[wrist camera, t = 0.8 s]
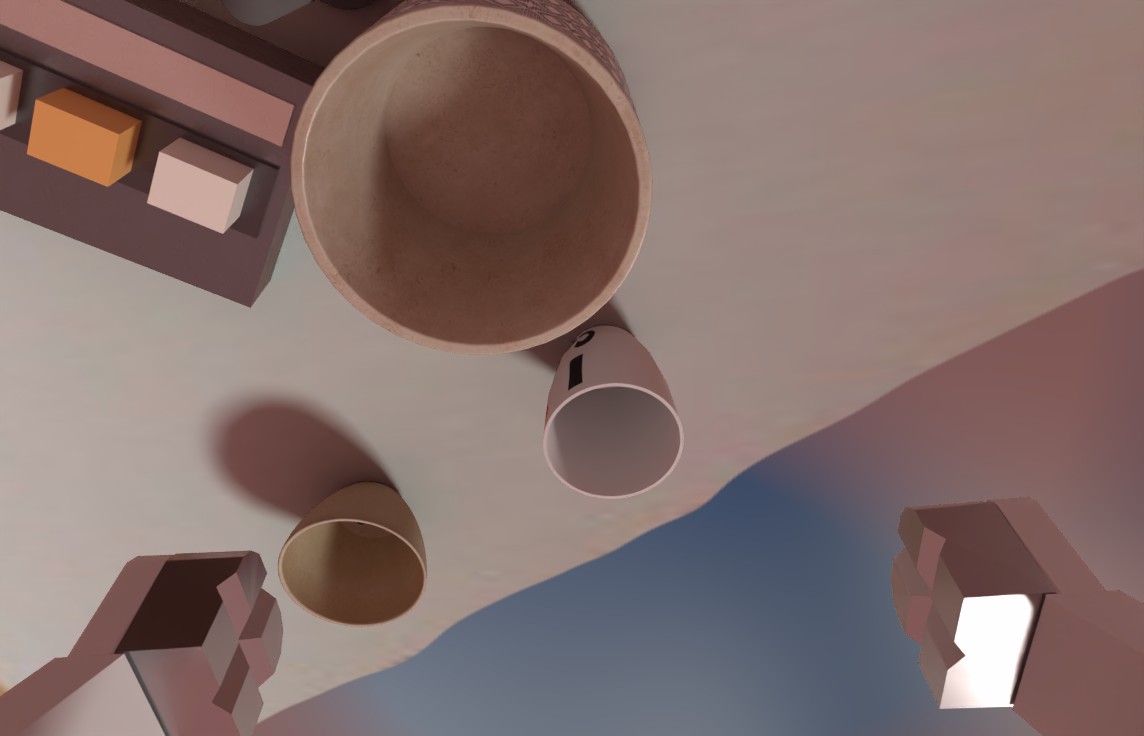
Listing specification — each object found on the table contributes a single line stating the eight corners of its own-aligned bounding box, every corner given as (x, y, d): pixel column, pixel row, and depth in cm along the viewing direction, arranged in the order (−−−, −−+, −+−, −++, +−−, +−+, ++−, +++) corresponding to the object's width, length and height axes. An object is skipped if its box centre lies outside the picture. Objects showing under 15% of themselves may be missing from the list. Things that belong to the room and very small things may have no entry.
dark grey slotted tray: (-39, -100, 43) (-95, -98, 40) (338, 75, 48) (319, 91, 44) (-65, 146, 50) (-116, 167, 46) (270, 280, 54) (249, 309, 50)
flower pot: (286, 529, 64) (257, 598, 58) (333, 433, 60) (307, 497, 54) (407, 575, 67) (391, 646, 61) (461, 486, 63) (450, 553, 56)
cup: (574, 286, 55) (577, 363, 46) (685, 330, 56) (708, 412, 48) (527, 385, 58) (521, 473, 50) (632, 423, 60) (645, 515, 51)
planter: (488, 306, 55) (471, 412, 44) (291, 115, 49) (213, 183, 38) (688, 140, 50) (724, 213, 39) (495, -99, 44) (474, -91, 33)
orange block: (64, 87, 44) (35, 99, 42) (142, 120, 45) (119, 134, 42) (55, 139, 45) (26, 154, 43) (131, 170, 46) (107, 187, 44)
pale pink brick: (180, 136, 45) (159, 151, 43) (254, 168, 46) (237, 184, 44) (168, 186, 47) (146, 202, 44) (240, 215, 48) (222, 233, 45)
